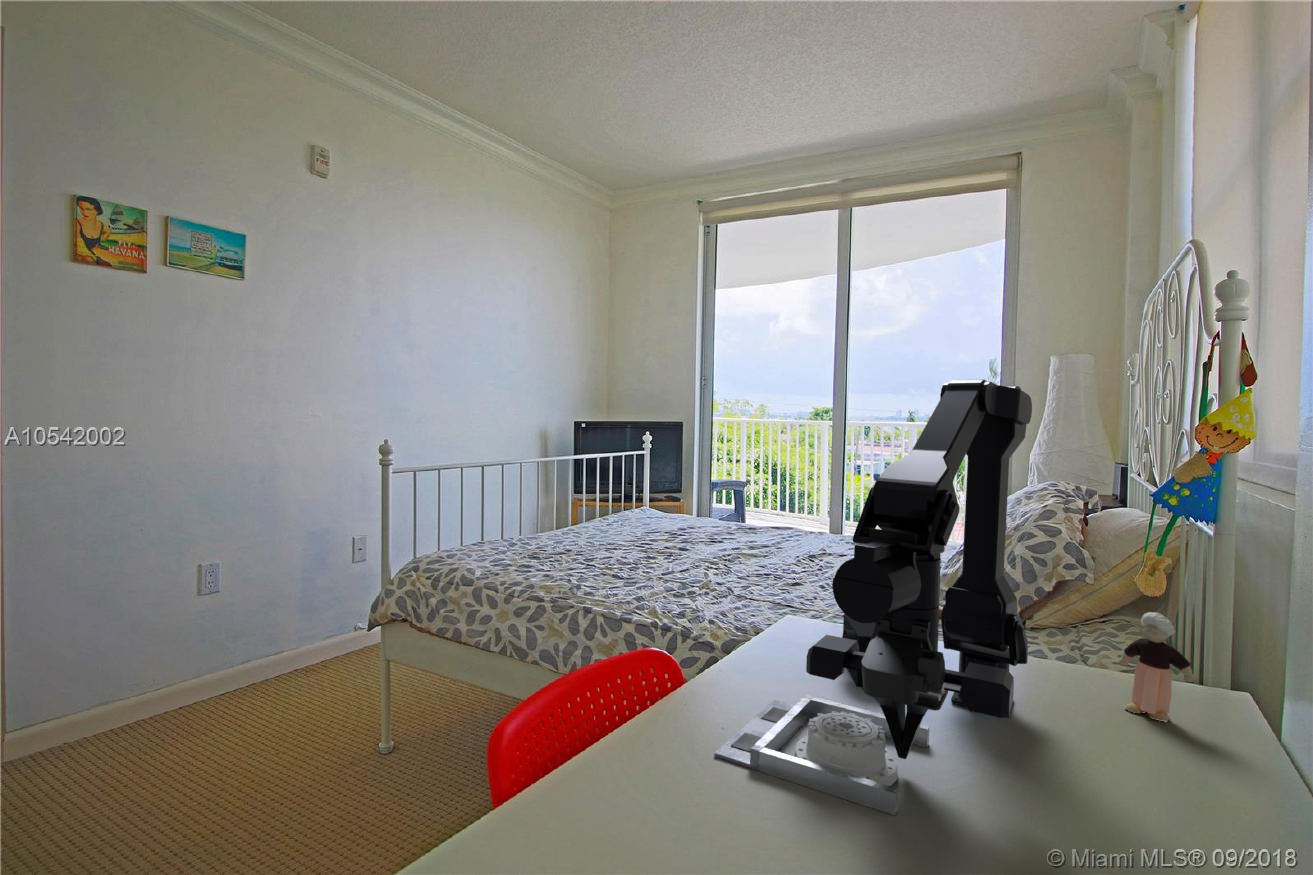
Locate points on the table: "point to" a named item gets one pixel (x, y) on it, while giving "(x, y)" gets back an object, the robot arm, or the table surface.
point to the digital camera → (863, 636)
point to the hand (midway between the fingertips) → (903, 757)
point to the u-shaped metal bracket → (775, 728)
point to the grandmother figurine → (1154, 667)
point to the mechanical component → (848, 746)
